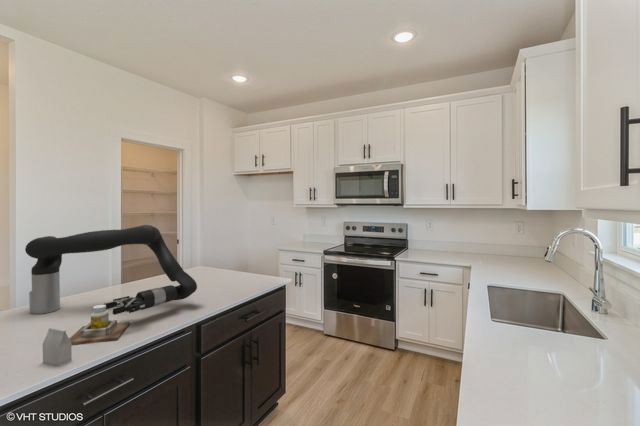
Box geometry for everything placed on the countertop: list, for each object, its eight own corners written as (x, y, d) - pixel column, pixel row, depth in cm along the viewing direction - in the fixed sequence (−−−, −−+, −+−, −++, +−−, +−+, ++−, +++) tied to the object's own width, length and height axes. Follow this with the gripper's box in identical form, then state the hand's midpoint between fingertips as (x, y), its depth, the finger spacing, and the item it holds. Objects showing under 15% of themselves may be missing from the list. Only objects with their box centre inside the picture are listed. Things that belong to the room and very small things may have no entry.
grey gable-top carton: (58, 366, 90) (57, 333, 90) (42, 362, 92) (42, 330, 92) (71, 360, 94) (71, 328, 93) (56, 356, 96) (55, 326, 95)
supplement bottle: (112, 329, 113) (111, 304, 113) (97, 335, 108) (97, 309, 108) (101, 327, 115) (101, 303, 115) (87, 333, 110) (86, 307, 110)
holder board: (64, 345, 102) (64, 335, 102) (83, 328, 116) (82, 319, 116) (117, 340, 107) (117, 330, 107) (129, 324, 121) (129, 316, 120)
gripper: (142, 286, 131) (99, 296, 117) (160, 292, 123) (116, 303, 109) (142, 303, 131) (99, 315, 117) (160, 310, 123) (116, 323, 110)
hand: (107, 309), depth 113 cm, fingers open, 8 cm apart
